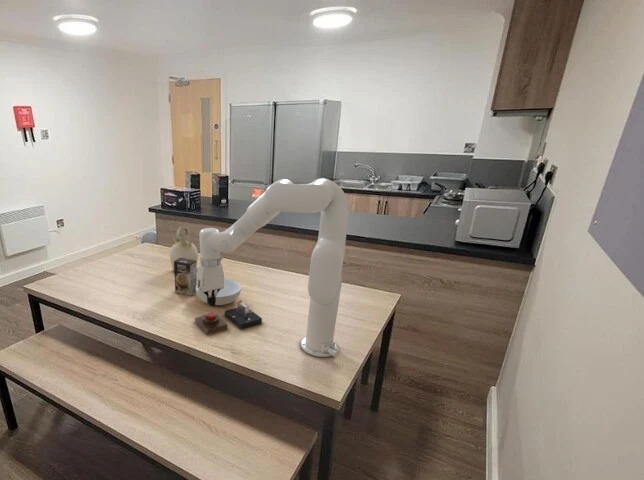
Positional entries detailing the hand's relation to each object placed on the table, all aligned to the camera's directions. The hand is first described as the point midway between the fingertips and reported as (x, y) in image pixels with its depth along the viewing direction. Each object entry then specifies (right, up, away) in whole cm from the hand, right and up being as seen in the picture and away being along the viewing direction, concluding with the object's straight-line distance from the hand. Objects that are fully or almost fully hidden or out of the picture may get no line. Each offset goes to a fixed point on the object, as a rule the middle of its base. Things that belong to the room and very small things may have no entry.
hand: (211, 304), depth 149 cm
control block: (0, -9, +4) cm, 10 cm away
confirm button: (0, -6, +3) cm, 6 cm away
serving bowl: (+3, 0, +25) cm, 26 cm away
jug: (-15, +15, +60) cm, 64 cm away
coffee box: (-12, +4, +35) cm, 37 cm away
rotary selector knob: (+13, -4, +7) cm, 16 cm away
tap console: (+13, -7, +8) cm, 17 cm away
